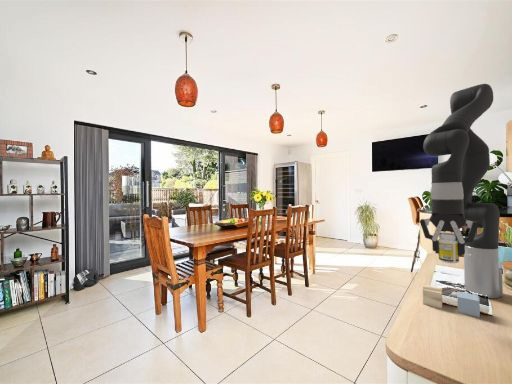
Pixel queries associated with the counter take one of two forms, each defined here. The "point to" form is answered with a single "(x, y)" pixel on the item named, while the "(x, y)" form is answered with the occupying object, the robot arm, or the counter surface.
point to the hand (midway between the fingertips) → (448, 253)
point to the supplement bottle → (448, 248)
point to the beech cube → (432, 296)
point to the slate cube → (468, 304)
